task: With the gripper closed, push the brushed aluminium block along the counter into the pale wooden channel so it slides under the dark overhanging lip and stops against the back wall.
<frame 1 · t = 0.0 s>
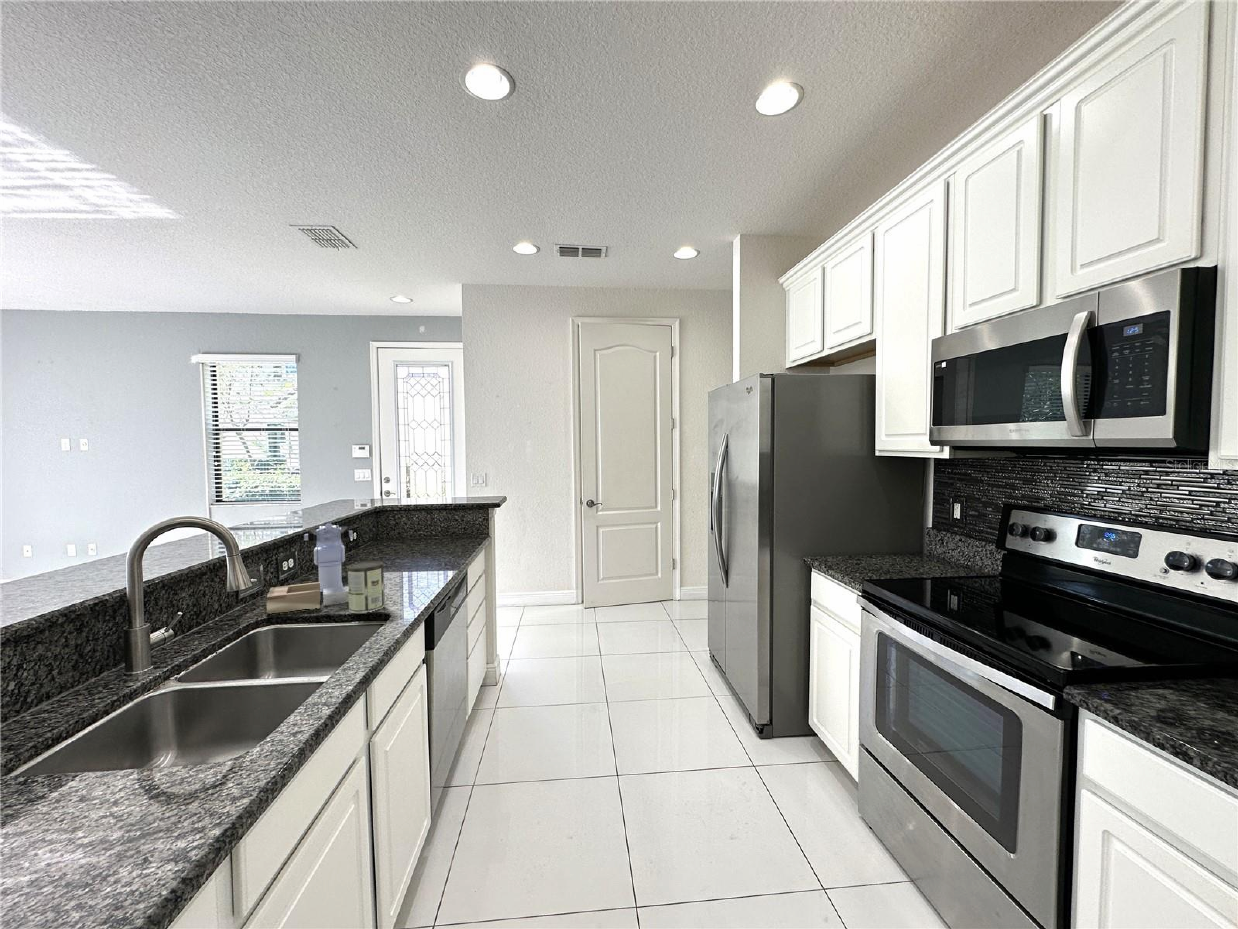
hand: (328, 536, 172), 22 cm above the countertop, tool horizontal, fingers open, 7 cm apart
coffee can: (366, 609, 165), on the countertop
wooden channel: (295, 606, 168), on the countertop
aluminium block: (340, 601, 174), on the countertop
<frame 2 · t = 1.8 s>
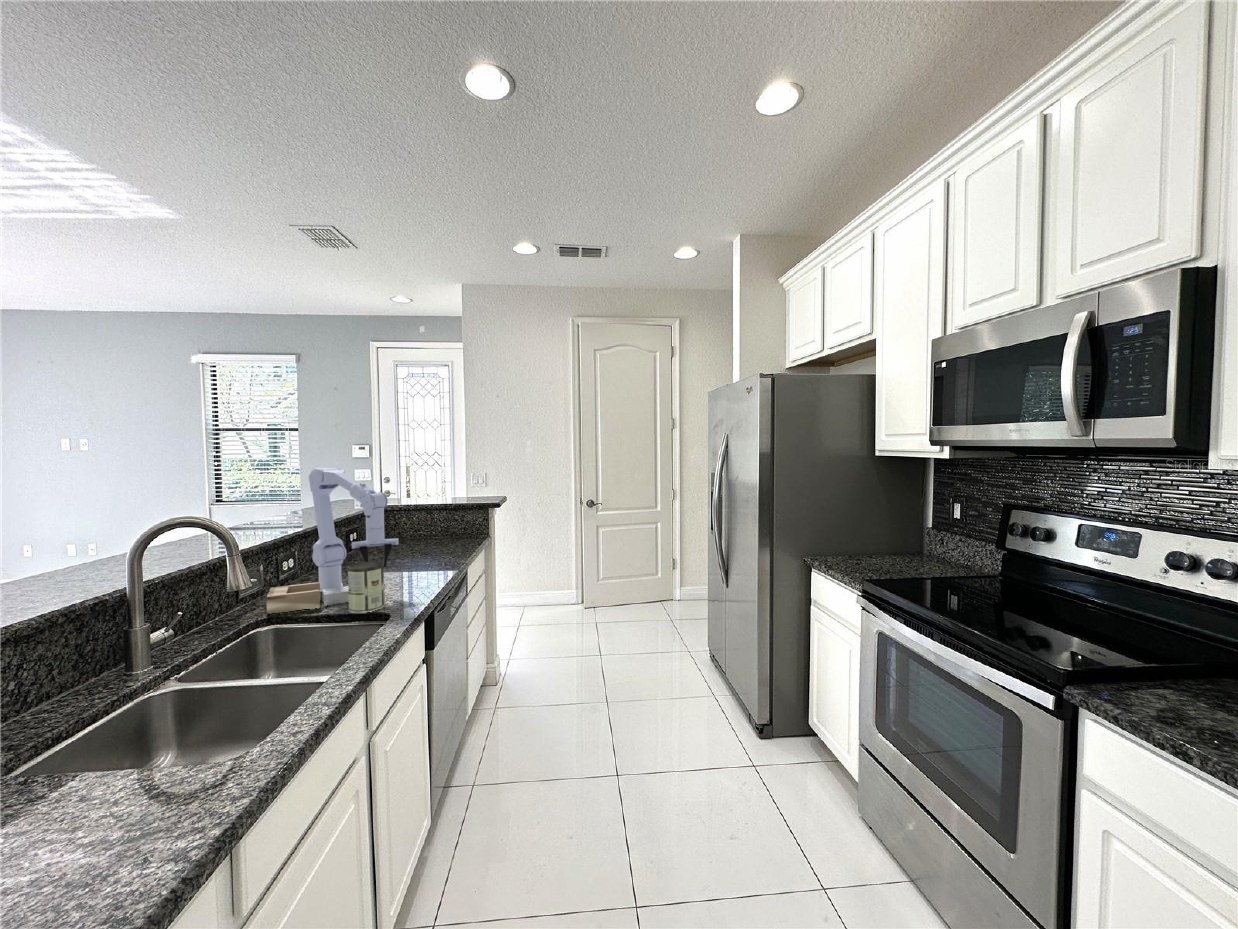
hand: (376, 567, 180), 10 cm above the countertop, tool pointing down, fingers open, 5 cm apart
nothing on the countertop moved.
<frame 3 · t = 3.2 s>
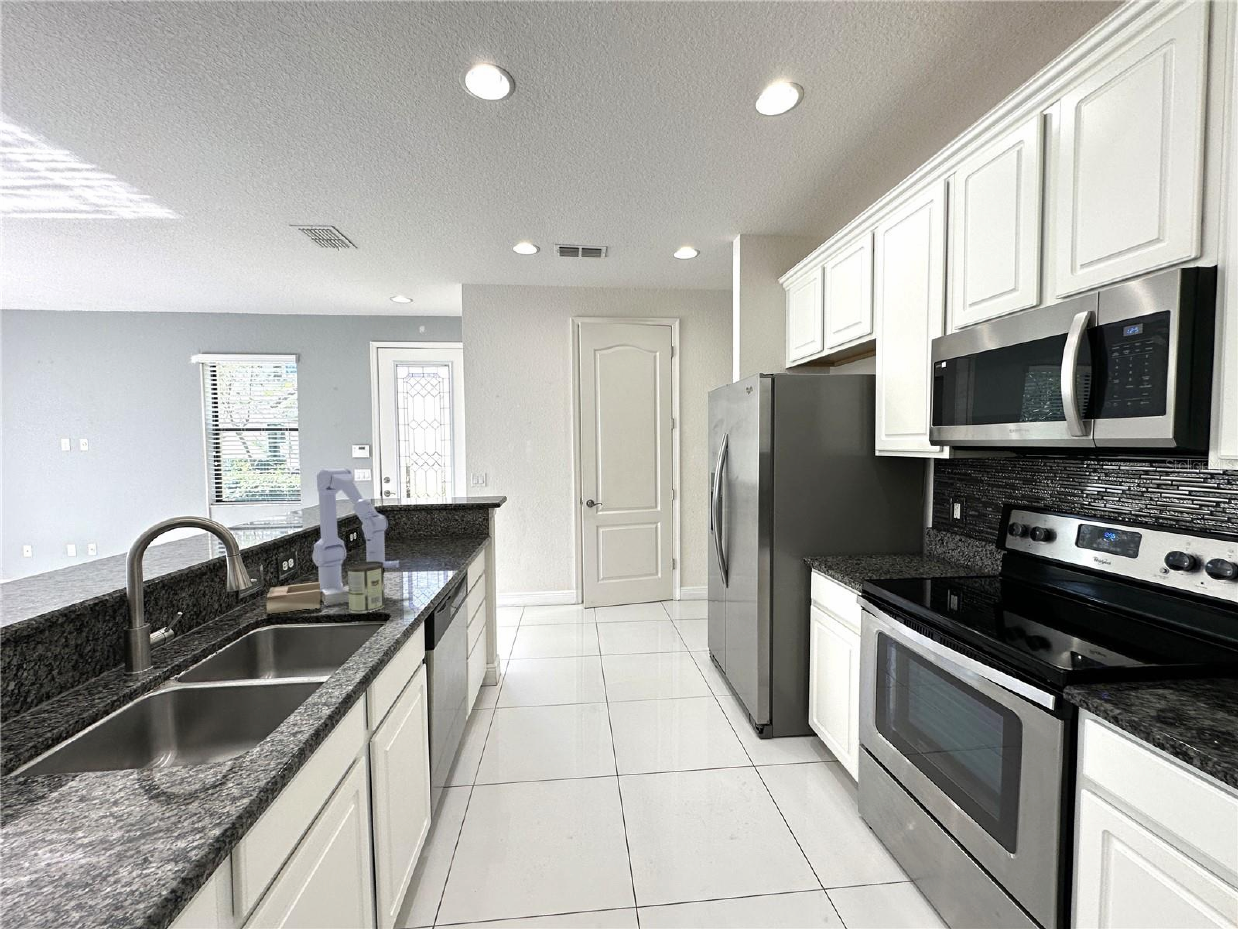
hand: (376, 590, 180), 2 cm above the countertop, tool pointing down, fingers closed
nothing on the countertop moved.
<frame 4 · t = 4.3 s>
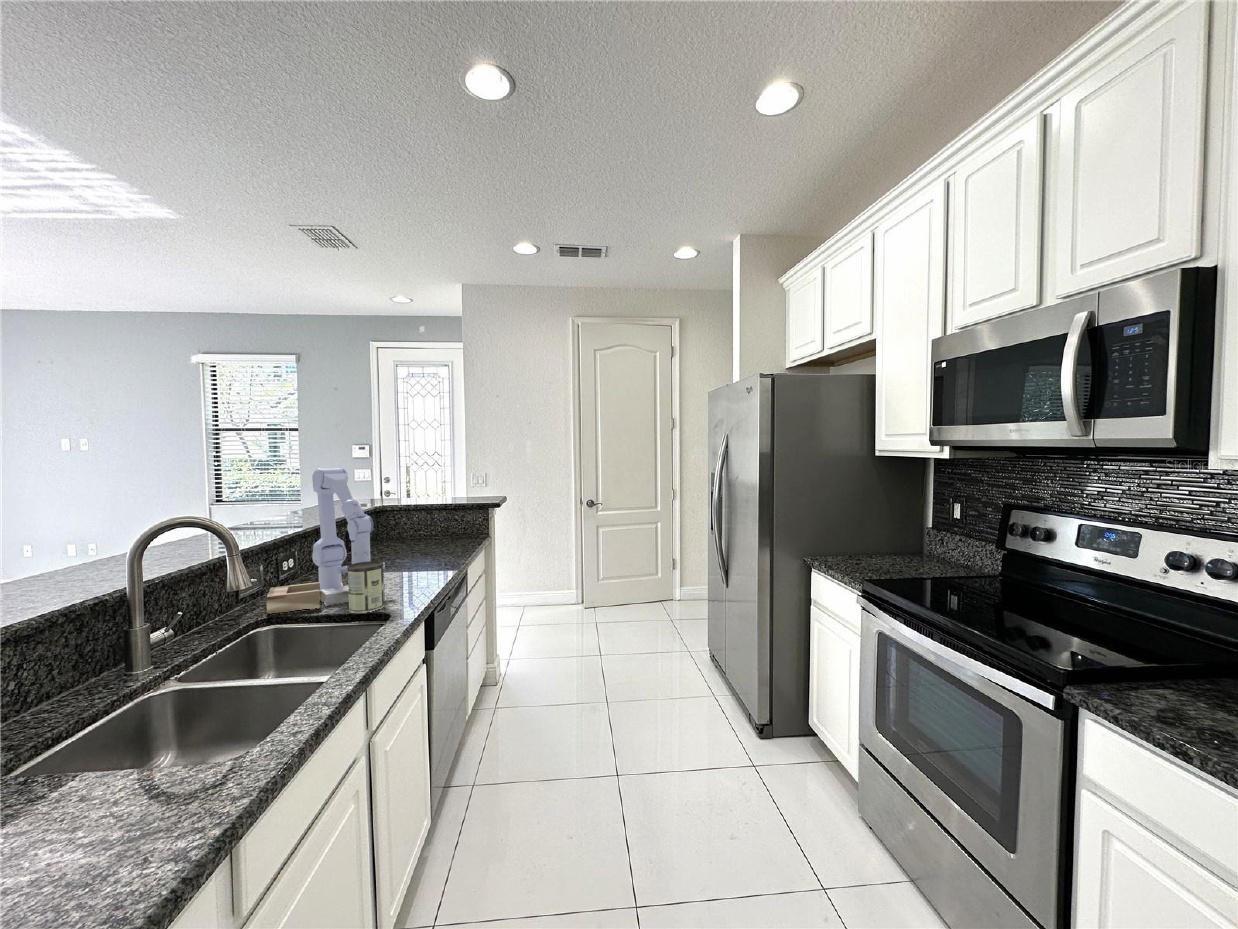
hand: (361, 592, 178), 2 cm above the countertop, tool pointing down, fingers closed
aluminium block: (340, 601, 174), on the countertop, touching gripper
everything else where it was.
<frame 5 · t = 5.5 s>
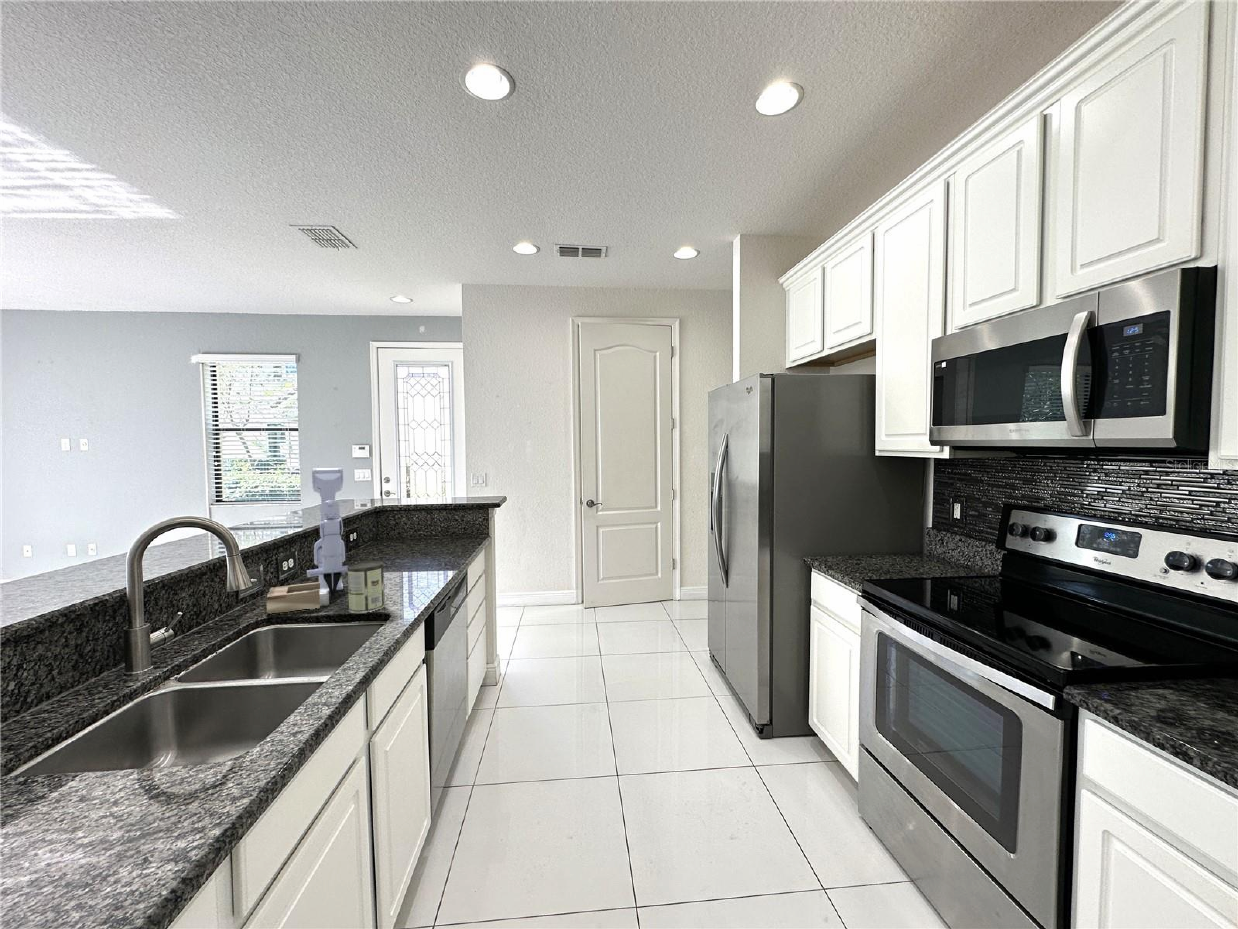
hand: (332, 595, 173), 2 cm above the countertop, tool pointing down, fingers closed
aluminium block: (311, 604, 171), on the countertop, touching gripper
everything else where it was.
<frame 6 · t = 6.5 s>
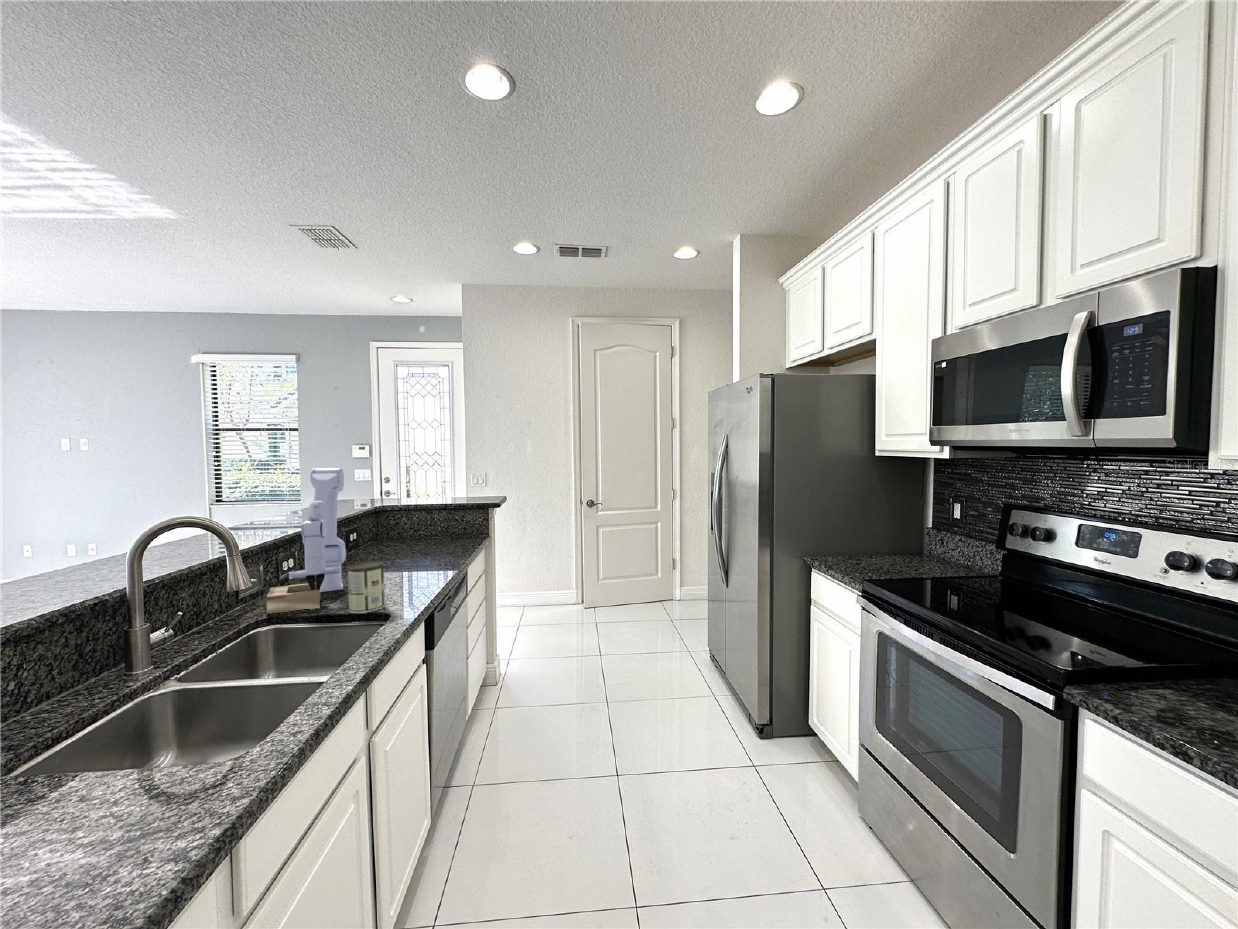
hand: (315, 597, 171), 2 cm above the countertop, tool pointing down, fingers closed
aluminium block: (294, 607, 168), on the countertop, touching gripper
everything else where it was.
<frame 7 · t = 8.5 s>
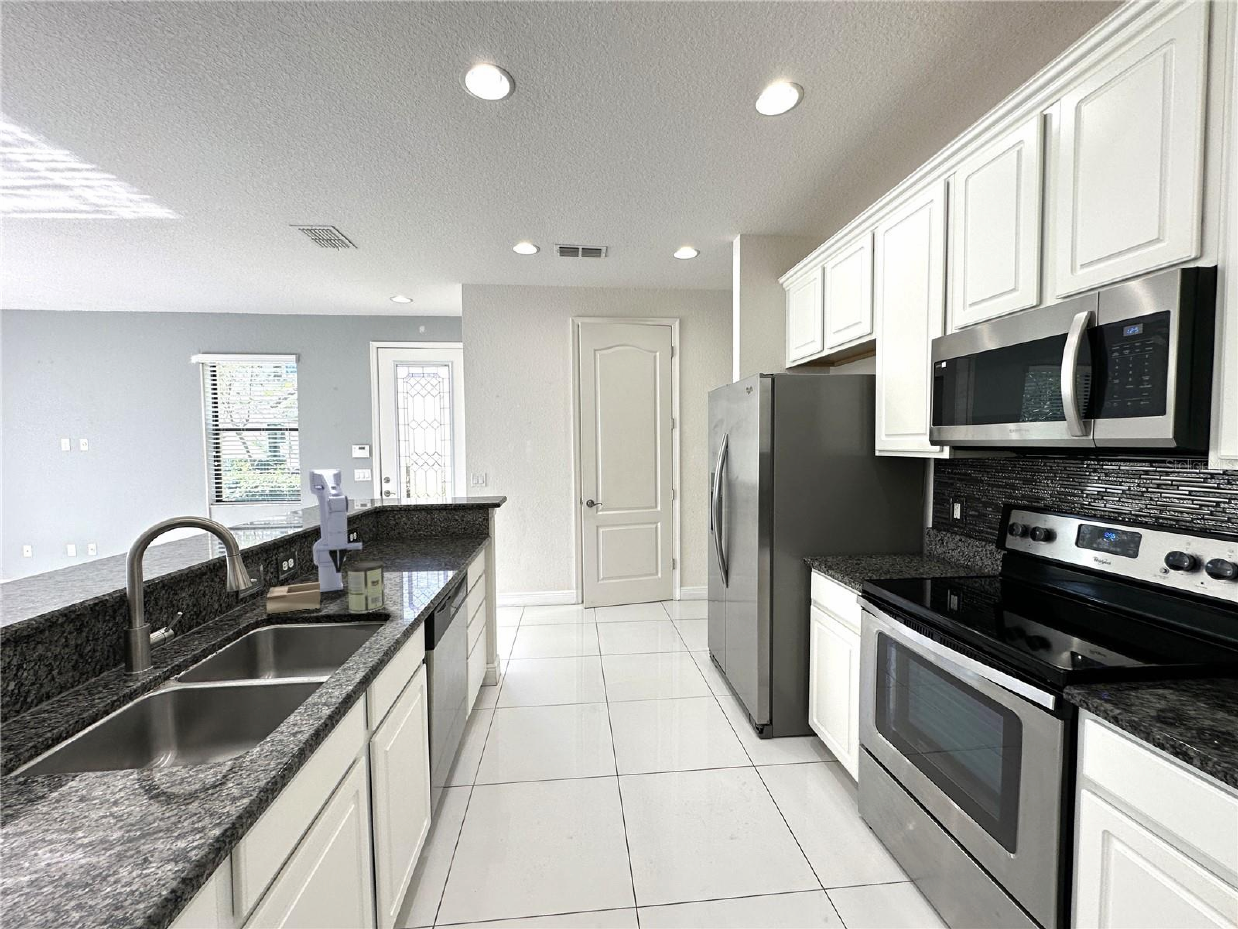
hand: (338, 572, 175), 9 cm above the countertop, tool pointing down, fingers closed
aluminium block: (293, 607, 168), on the countertop
everything else where it was.
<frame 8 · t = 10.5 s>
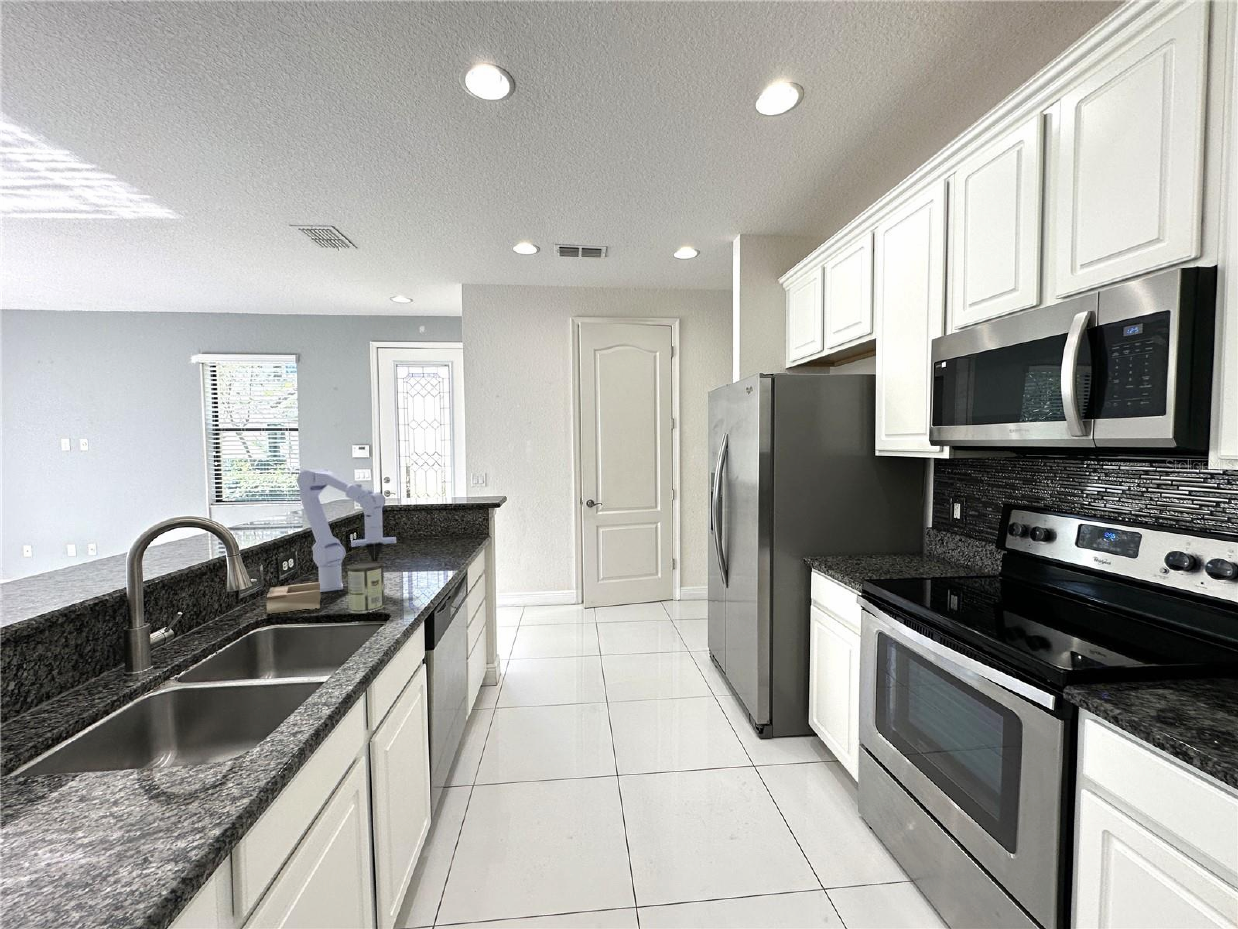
hand: (374, 564, 186), 9 cm above the countertop, tool pointing down, fingers closed
nothing on the countertop moved.
at the end: aluminium block 0.3 cm from the target spot, on the countertop; aluminium block tilted 0° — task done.
